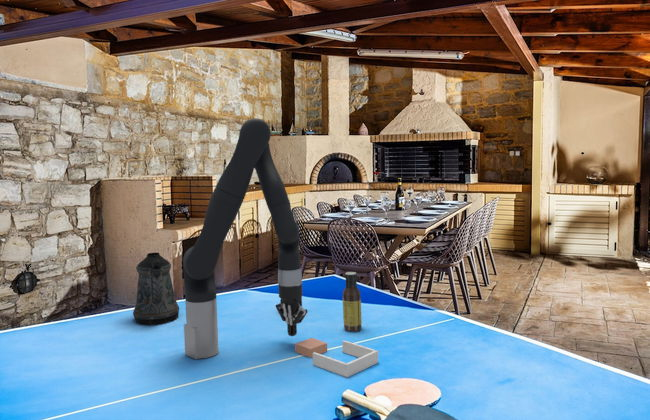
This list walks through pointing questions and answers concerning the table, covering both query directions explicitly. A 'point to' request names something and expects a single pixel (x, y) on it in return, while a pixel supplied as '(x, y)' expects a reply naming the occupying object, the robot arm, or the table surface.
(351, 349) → the box
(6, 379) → the table surface
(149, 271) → the dark grey bell-shaped piece
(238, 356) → the table surface
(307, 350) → the terracotta tile
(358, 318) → the sauce bottle
